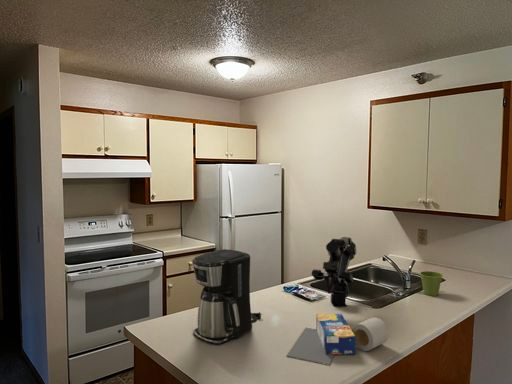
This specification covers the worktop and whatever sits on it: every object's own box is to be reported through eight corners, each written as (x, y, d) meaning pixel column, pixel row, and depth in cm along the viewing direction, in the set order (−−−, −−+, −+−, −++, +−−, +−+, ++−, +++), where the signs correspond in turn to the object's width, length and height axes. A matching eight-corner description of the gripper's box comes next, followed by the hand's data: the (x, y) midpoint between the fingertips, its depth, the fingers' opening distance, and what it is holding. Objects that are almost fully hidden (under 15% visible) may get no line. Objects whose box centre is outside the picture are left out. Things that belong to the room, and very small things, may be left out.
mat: (305, 328, 164) (305, 327, 164) (343, 334, 158) (343, 333, 158) (286, 356, 140) (286, 355, 140) (329, 365, 134) (329, 364, 134)
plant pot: (435, 290, 213) (436, 270, 212) (447, 297, 201) (447, 277, 200) (414, 290, 213) (415, 270, 212) (425, 298, 201) (425, 277, 200)
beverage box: (316, 314, 162) (325, 336, 141) (341, 314, 163) (355, 336, 141) (316, 329, 163) (325, 354, 141) (341, 329, 163) (355, 354, 141)
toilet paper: (366, 338, 155) (366, 314, 154) (388, 347, 147) (388, 322, 147) (350, 345, 149) (351, 320, 148) (372, 355, 141) (373, 329, 140)
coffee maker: (184, 340, 154) (182, 258, 151) (220, 311, 184) (220, 242, 181) (235, 350, 145) (234, 263, 143) (264, 318, 175) (264, 246, 173)
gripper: (311, 253, 182) (303, 283, 173) (349, 255, 172) (343, 287, 164) (318, 264, 189) (311, 293, 181) (355, 266, 180) (350, 298, 171)
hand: (328, 293), depth 174 cm, fingers closed
